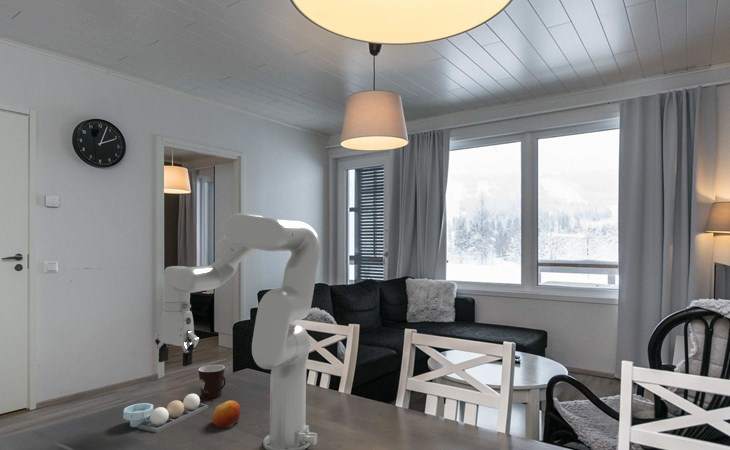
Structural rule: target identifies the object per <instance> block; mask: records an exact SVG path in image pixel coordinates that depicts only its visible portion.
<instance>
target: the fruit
mask: <svg viewBox="0 0 730 450" xmlns="http://www.w3.org/2000/svg"><path fill="white" fill-rule="evenodd" d="M240 417H241V406H240V404H239V403H238V402H237V401H235V400H226V401H224V402H223V403H220V404H219V405H217V406H216V407H215V408H214V411H213V413H212V418H211V419H212V420H211V421H212V423H213V424H214V425H215V426H216V427H217V428H222V429H225V428H232V427H233V426H234V425H235V424H237V423H239V421H240Z"/></svg>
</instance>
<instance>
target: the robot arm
mask: <svg viewBox="0 0 730 450" xmlns="http://www.w3.org/2000/svg"><path fill="white" fill-rule="evenodd" d="M222 235H223V237H221V238H220V239H219V240H218V241H217V242H216V245H215V251H216V254H217V256H218V258H217V260H215V261H214V262H212V263H211V264H210V265H199V266H198V265H197V266H183V265H172V266H167V267H165V268H164V271H163V299H162V301H163V302H162V305H163V307H162V312H161V316H160V321H159V330H157V331H155V332H154V333H153V338H154V342H155V344H156V345H157V346H156V348H157V349H158V363H163V362H166V361H168V360H169V346H168V345H170V346H179V347H181V348H182V351H183V352H182V366H183V367H188V366H190V365H192V364H193V352H194V351H195V349H196V347H197V346H198V343H199V341H200V337H198V336H197V335H196V334H195V325H194V317H193V313H192V310H191V308H192V304H191V300H190V299H191V293H197V292H204V291H211V290H212V291H213V290H214V289H217V288H219V287H221V286H222V285H223V284H225V283H226V282H227V281H228V280H230V279H231V278H232V277H234V274H235V273H236V272H237V271H238V267H239V264H240V263H241V262H242V261H243V260H244V259H246V258H247V256H249V255H250V254H251V253H253V252H254V251H255V250H260V251H264V252H288V251H289V252H290V253H291V254H290V257H289V259H288V260H287V263H285V264H286V265H285V268H284V273H283V278H282V283H281V287H276V288H274V289H271V290H269V291H267V292H266V293H265V294H264V295H263V296H262V297H261V299H260V301H259V303H258V307H257V312H256V315H255V321H254V322H255V323H254V328H253V336H252V342H251V355H252V357H253V360H254V363H256V365H257V367H259V368H261V369H264V370H270V378H269V380H270V381H269V386H270V387H269V434H268V435H266V436H265V437H264V439H263V447H264V449H265V450H306V449H307V448H308V447H309V446H310V445H315V446H316V445H317V442H318V433H317V432H311V431H310V425H308V424H306V423H307V422H306V419H307V418H306V417H307V416H306V412H307V411H306V408H307V407H306V405H307V404H306V403H307V398H306V397H307V395H306V394H307V368H308V367H307V366H308V359H309V352H310V347H311V344H310V343H311V341H310V336H309V334H308V332H307V330H306V328H304V327H303V326H302V325H300V324H297V323H296V322H298V321H301V320H303V319H306V317H308V316H309V314H310V312H311V308H312V303H313V297H314V290H315V284H316V278H317V271H318V267H319V262H320V258H321V257H320V256H321V249H322V248H321V247H322V246H321V240H320V237H319V235H318V233H317V232H316V231H315V229H314V228H313V227H312V226H310V225H309V224H308V223H307V222H304V221H302V220H296V219H289V218H288V219H287V218H286V219H285V218H274V217H273V218H271V217H265V216H263V215H260V214H255V213H245V212H238V213H234V214H232V215H230V216H229V217H227V218H226V220H225V221H224V223H223V225H222Z"/></svg>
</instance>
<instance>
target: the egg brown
mask: <svg viewBox="0 0 730 450" xmlns="http://www.w3.org/2000/svg"><path fill="white" fill-rule="evenodd" d="M166 409H167V411H168V413H169V417H171V418H177V417H179V416H181V415H182V413H183V411H184V405H183V401H181V400H178V399H177V400H176V399H175V400H172V401H171V402H169V403H168V404H167V406H166Z"/></svg>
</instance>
